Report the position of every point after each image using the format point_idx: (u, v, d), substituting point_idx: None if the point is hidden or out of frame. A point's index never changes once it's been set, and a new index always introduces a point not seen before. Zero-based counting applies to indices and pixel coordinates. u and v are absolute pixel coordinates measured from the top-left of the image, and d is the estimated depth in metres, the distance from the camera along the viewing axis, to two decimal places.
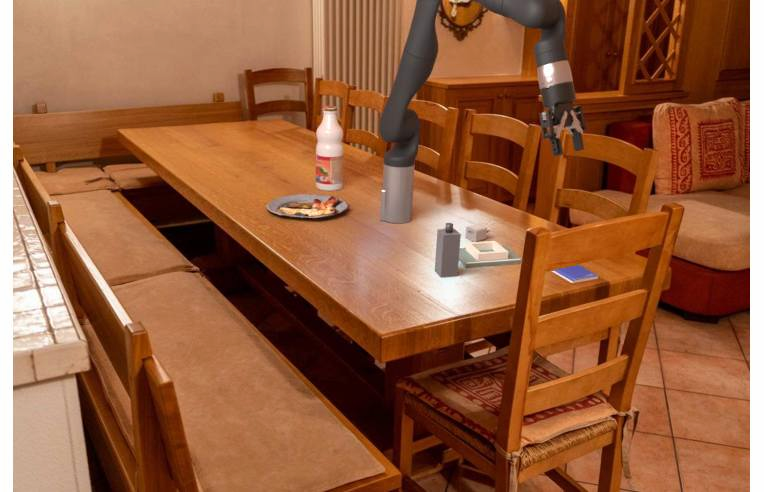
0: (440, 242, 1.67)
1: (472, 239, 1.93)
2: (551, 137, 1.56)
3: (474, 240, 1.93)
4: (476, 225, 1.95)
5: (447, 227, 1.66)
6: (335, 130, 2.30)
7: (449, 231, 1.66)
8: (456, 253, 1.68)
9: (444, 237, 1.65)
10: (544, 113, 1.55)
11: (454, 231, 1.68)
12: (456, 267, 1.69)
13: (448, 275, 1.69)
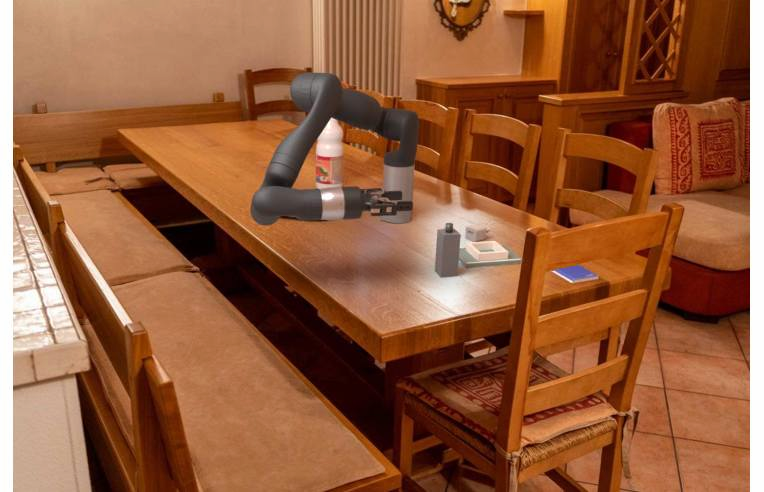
0: (440, 242, 1.67)
1: (472, 239, 1.93)
2: None
3: (474, 240, 1.93)
4: (476, 225, 1.95)
5: (447, 227, 1.66)
6: (335, 130, 2.30)
7: (449, 231, 1.66)
8: (456, 253, 1.68)
9: (444, 237, 1.65)
10: None
11: (454, 231, 1.68)
12: (456, 267, 1.69)
13: (448, 275, 1.69)
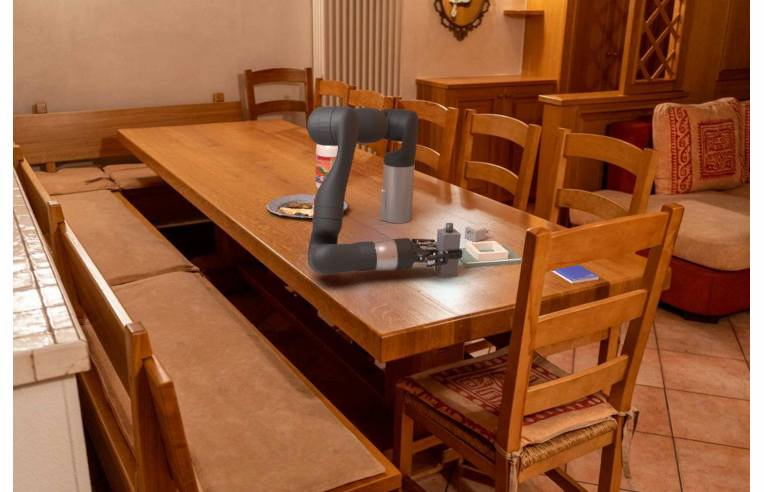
0: (440, 242, 1.68)
1: (471, 239, 1.93)
2: None
3: (473, 240, 1.93)
4: (475, 225, 1.95)
5: (447, 227, 1.66)
6: None
7: (449, 231, 1.66)
8: None
9: (444, 237, 1.65)
10: None
11: (454, 231, 1.68)
12: (456, 267, 1.69)
13: (448, 275, 1.69)
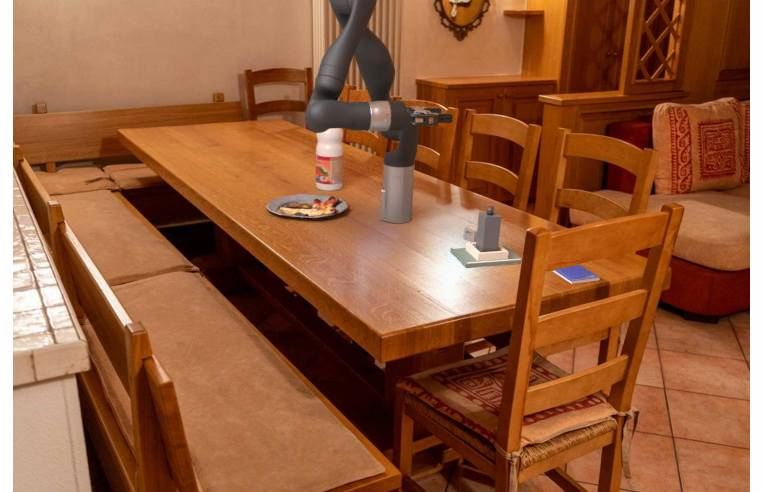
0: (481, 224, 1.78)
1: (470, 240, 1.93)
2: None
3: (472, 241, 1.92)
4: (474, 226, 1.94)
5: (488, 210, 1.77)
6: (335, 130, 2.30)
7: (490, 213, 1.77)
8: (497, 234, 1.78)
9: (486, 219, 1.76)
10: None
11: (495, 214, 1.78)
12: (496, 248, 1.79)
13: None
